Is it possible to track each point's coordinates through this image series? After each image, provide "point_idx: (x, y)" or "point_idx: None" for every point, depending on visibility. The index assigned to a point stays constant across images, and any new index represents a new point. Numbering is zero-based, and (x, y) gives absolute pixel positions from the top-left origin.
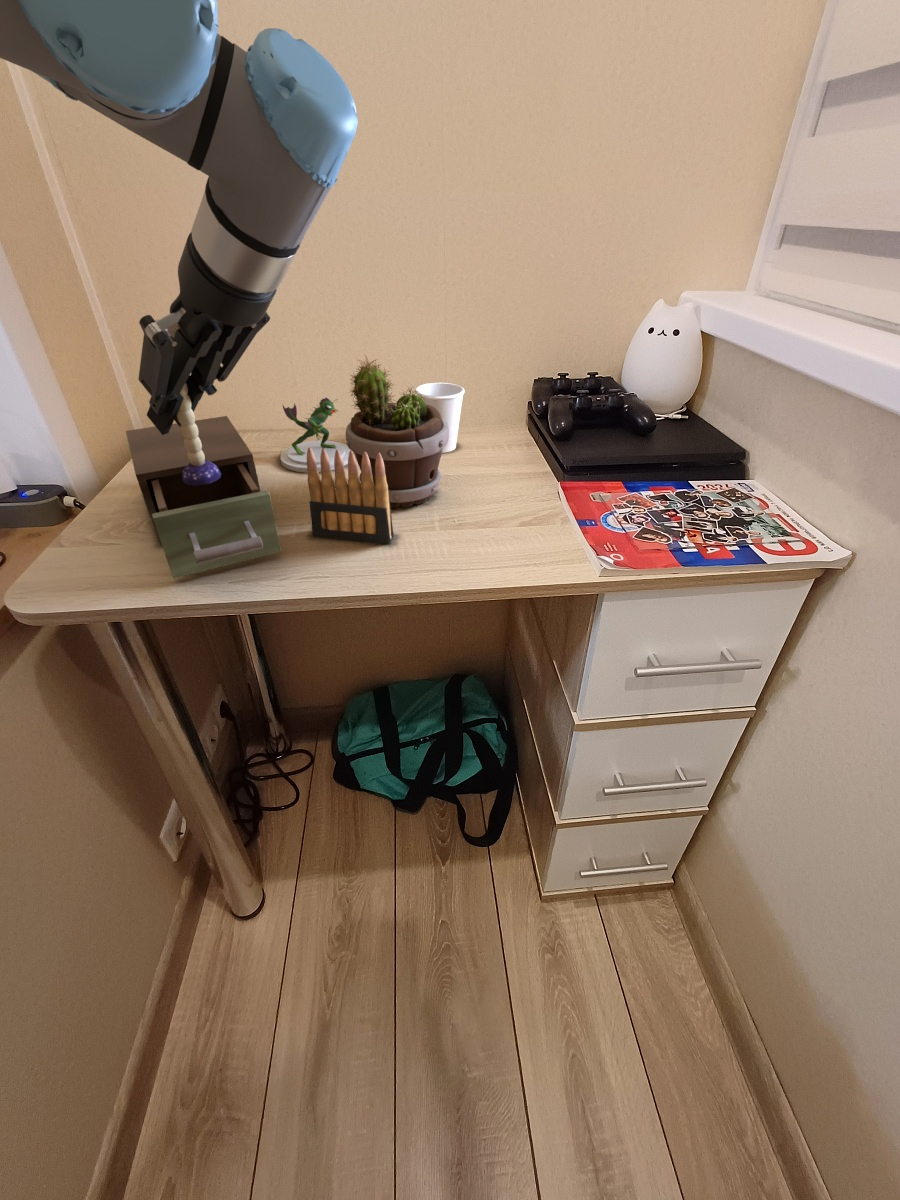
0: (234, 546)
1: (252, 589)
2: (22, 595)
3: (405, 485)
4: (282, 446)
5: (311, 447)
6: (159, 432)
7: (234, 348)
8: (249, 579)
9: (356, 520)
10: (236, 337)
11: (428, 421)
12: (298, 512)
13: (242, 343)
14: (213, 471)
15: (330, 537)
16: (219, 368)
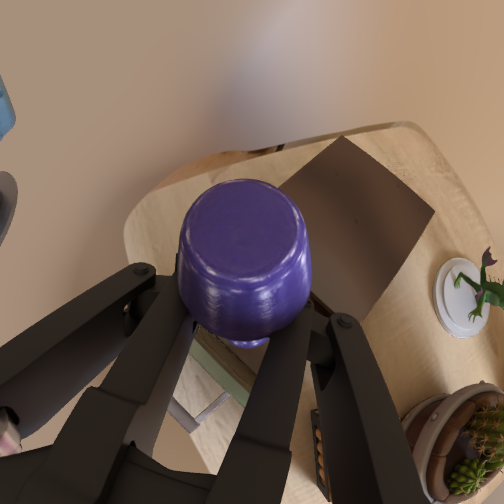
0: (168, 411)
1: (193, 403)
2: (139, 210)
3: None
4: (464, 244)
5: (470, 285)
6: (357, 168)
7: (331, 451)
8: (208, 392)
9: (322, 465)
10: (343, 475)
11: (467, 494)
12: None
13: (331, 490)
14: (246, 344)
15: (312, 429)
16: (329, 362)
